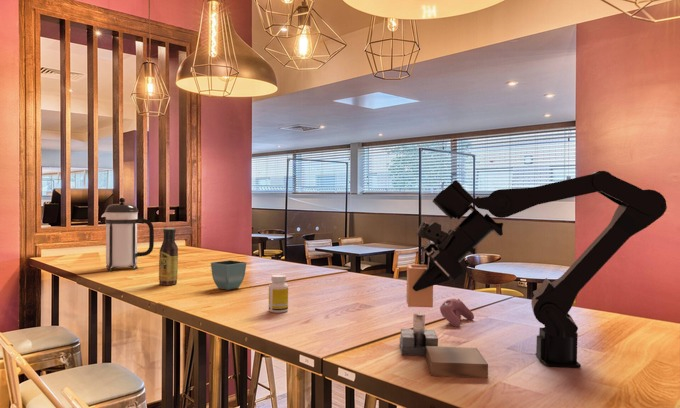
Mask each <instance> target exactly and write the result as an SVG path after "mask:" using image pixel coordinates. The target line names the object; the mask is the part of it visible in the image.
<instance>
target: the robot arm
mask: <svg viewBox="0 0 680 408" xmlns="http://www.w3.org/2000/svg"><path fill="white" fill-rule="evenodd" d="M594 193H598V194H600V195H601V196H603V197H604V198H607V199H608V200H610V201H611V202H613V203H614V204H616V205H618V206H617V207H616V210H615V212H614V213H613V216H612V218H611V220H610V222H609V224H608V225H607V226H606V227H605V228H604V229H603V230H602V232H601V233H600V234H599V235H598V236H597V237H596V238H595V239H594V240H593V241H592V243H590V245H589V246H588V247H587V248H586V249H585V250H584V251H583V252H582V253H581V254H580V255H579V257H577V259H576V260H575V261H574V262H573V263H572V264H571V265H570V267H569V268H568V269H566V271H565V272H564V273H563V274H562V275H561V276H560V277H558V278H557V279H555V280H553V281H550V279H548V278H547V277H546V278H544V280H543V281H542V283H541V284H540V286H539V287H538V288H537V289H536V290H533V291H532V293H533V297H532V298H531V301H530V302H531V309H532V312H533V315H534V317H535V319H536V321H537V322H539V323H540V324H542V325H543V327H539V331H538V333H539V334H537V335H536V348H535V350H536V352H535V356H536V357H537V358H538V359H539V360H540V361H541V362H542V363H543V364H544V365H545V366H546V367H547V366H548V367H567V368H568V367H569V368H581V366H582V365H581V363H580V362H578V335H579V334H578V330H579V327H578V326H577V324H576V322H575V321H574V319H573V317H572V316H571V314H569V312H570V310H571V309H572V307H573V305H574V303H575V300H576V299H577V297H578V294H579V293H580V291H581V290H582V289H583V288H584V287H585V286H586V285H587V284H588V283H589V282H590V280H591V279H592V278H593V277H594V276H596V274H598V272H599V271H600V270H601V269H602V268H603V267H604V266H605V265H606V263H608V261H609V260H610V259H611V258H612V257H613V256H614V255H615V254H616V253H617V252H618V251H619V250H620V249H621V247H622V246H624V244H625V243H626V242H627V241H629V239H630V238H631V237H633V236H634V235H637V234H638V233H640V232H641V231H644V230H645V229H646V228H648V227H650V226H651V225H652V224H653V223H655V222H656V221H657V220H658V219H660V218H661V217H662V216H664V214H665V212H666V211H667V208H668V206H667V200H666V198H665V197H664V195H663V194H662V193H661V192H659V191H657V190H655V189H648V188H647V189H642V188H641V187H639V186H636V185H634V184H632V183H630V182H628V181H625V180H624V179H621V178H619V177H616V176H615V175H613V174H612V173H611V172H609V171H606V170H599V171H595V172H592V173H590V174H586V175H582V176H577V177H572V178H569V179H565V180H560V181H556V182H555V181H554V182H551V183H547V184H541V185H539V186H538V185H537V186H534V187H519V188H517V187H515V188H503V189H497V190H494V191H493V192H491V193H490V194H489V195H488V196H484V197H483V196H482V197H480V196H476V197H475V198H474V197H473V195H471V194H470V193H469V192H468V191H467V190H466V189H465V188H464V187H463V186H462V184H461V183H460V181H458V180H456V179H455V180H454V181H453V182H452V183H450V184H448V186H447V187H445V188H444V189H442V190H441V191H440V192H439V193H438V194H437V195H436V196H435V197H434V199H433V200H432V203H433V204H434V205H435V207H438V209H439V210H441V212H442V213H444V215H445V216H446V217H448V219H449V220H453V219H456V220H458V221H459V220H461V218H463V216H465V215H466V213H468V212H469V211H471V212H470V213H469V214H468V215H467V216H466V217H465V218H464V219H463V220H462V221H461V222H460V223H459V224H458V225H456V226H455V227H454V228H449V229H448V230H447V231H444V230H442V225H441V224H439V223H438V222H435V221H433V222H431V223H430V224H429V223H427V222H426V221H423V220H422V221H421V222H420V225H419V227H418V229H417V231H416V233H415V234H416V235H417V236H418V237H420V238H422V239H426V240H428V241H430V242H427V243H426V245H425V246H424V247H423V249H424V250H425V251H423V254H422V255H423V261H422V263H421V265H428V267H427V269H426V270H425V271H424V273H423V274H422V275H421V276H420V278H419V279H418V280H417V282H416V283H415V284H414V286H413V289H414V290H415V291H419V290H422V289H425V288H427V287H430V286H433V287H434V286H435V285H439V284H441V283H445V282H448V281H451V280H452V279H453V280H454V281H455V282H457V281H458V280H459V279H461V278H462V276H464V267H463V266H461V262H462V261H463V259H465V257H467V256H468V255H469V254H474V252H476V250H475V248H476V247H477V246H478V245H480V243H482V242H483V241H484V240H485V239H486V238H487V237H488V236H489V235H490V234H491V233H492V232H493V233H494V234H495V235H496V236H497V237H502V236H503V235H504V234H503V226H504V222H497V221H495V219H493V217H492V216H494V217H495V218H499V219H501V218H502V219H503V218H508V217H511V216H513V215H515V214H518V213H520V212H524V211H526V210H528V209H530V208H532V207H535V206H538V205H543V204H547V203H552V202H557V201H562V200H566V199H570V198H575V197H579V196H585V195H588V194H594ZM473 205H474V206H475V207H474V206H473ZM476 208H477V209H481V210H487V211H488V212H489V213H490V214H491V215H492V216H491V215H489V214H488V213H486V214H484V215H483V214H482V213H481V212H480V211H479V210H477V209H476ZM426 252H427V253H426ZM450 277H451V278H452V279H451V278H450Z"/></svg>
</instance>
